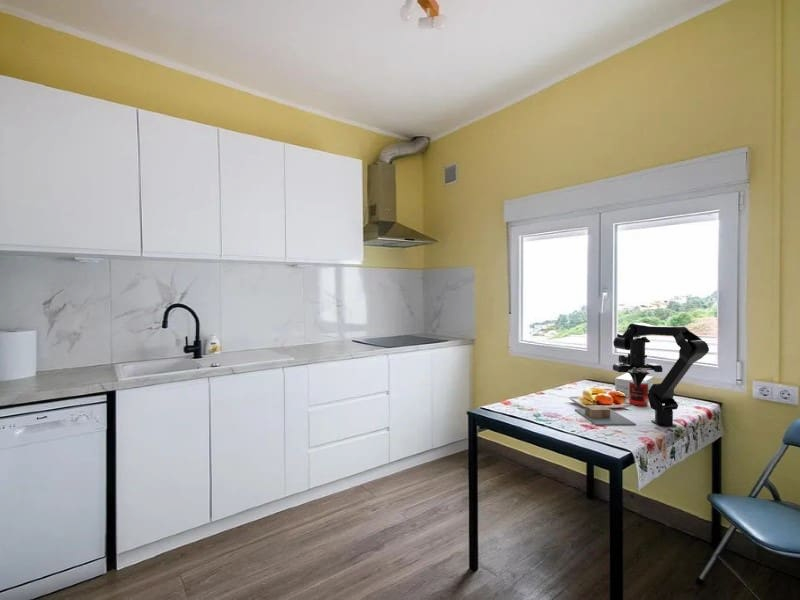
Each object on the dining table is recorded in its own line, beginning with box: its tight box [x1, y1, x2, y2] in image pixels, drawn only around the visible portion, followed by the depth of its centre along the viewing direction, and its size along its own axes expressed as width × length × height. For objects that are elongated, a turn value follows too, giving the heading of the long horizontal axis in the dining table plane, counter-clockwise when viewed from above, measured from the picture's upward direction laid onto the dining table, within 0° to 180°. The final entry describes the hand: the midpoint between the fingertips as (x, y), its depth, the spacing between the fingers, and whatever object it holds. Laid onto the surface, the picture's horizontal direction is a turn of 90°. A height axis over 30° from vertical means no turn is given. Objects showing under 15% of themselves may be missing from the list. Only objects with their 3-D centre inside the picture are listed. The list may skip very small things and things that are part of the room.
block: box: [584, 404, 611, 418], centre depth 174 cm, size 6×4×8 cm
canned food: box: [628, 379, 649, 407], centre depth 193 cm, size 8×8×11 cm
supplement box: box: [614, 372, 654, 399], centre depth 209 cm, size 17×13×9 cm
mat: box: [574, 408, 637, 426], centre depth 174 cm, size 20×16×1 cm
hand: (637, 387), depth 177 cm, fingers closed
